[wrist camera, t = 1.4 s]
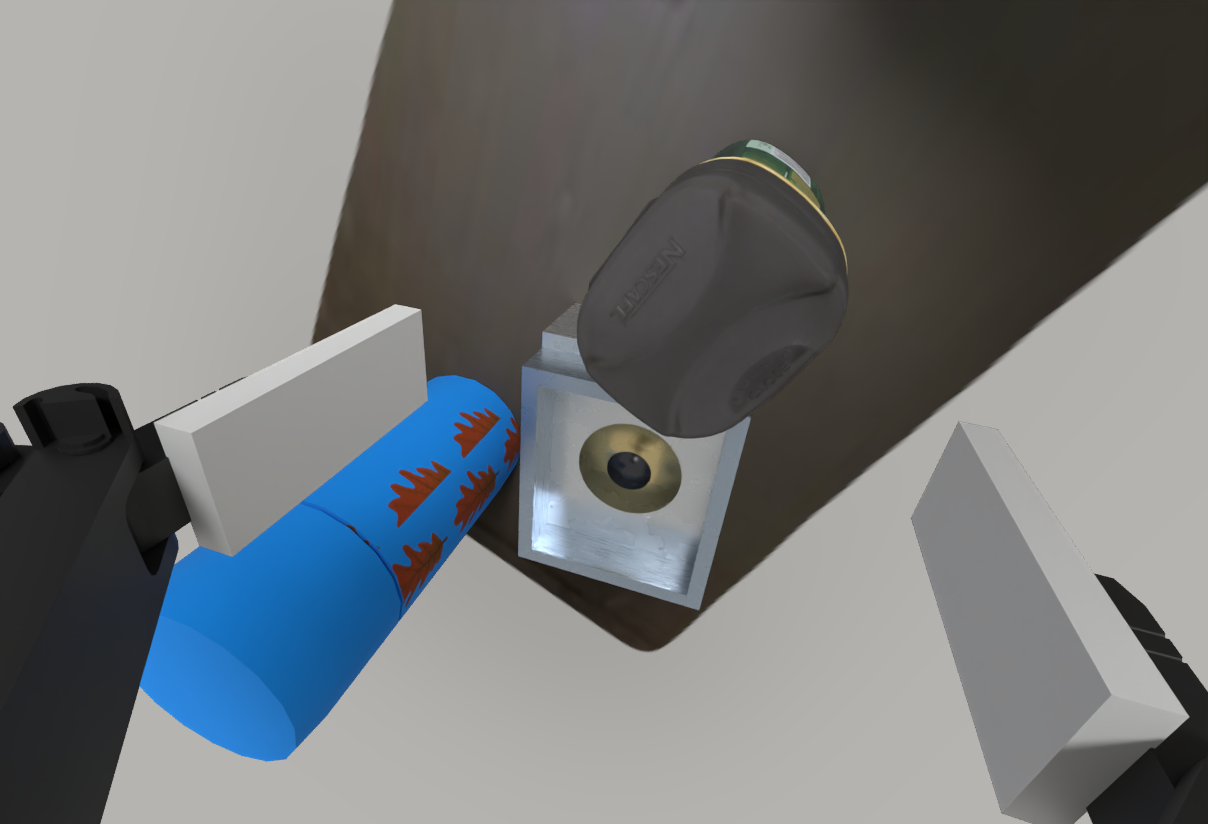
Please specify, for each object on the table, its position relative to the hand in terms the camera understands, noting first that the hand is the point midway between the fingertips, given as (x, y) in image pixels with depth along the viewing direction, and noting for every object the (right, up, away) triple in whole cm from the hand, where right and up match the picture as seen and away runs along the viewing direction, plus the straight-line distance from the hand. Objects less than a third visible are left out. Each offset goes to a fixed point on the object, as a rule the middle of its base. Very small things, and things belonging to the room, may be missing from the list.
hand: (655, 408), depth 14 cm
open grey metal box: (+2, -1, +28) cm, 28 cm away
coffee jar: (+7, +11, +20) cm, 24 cm away
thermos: (-13, -2, +33) cm, 36 cm away
